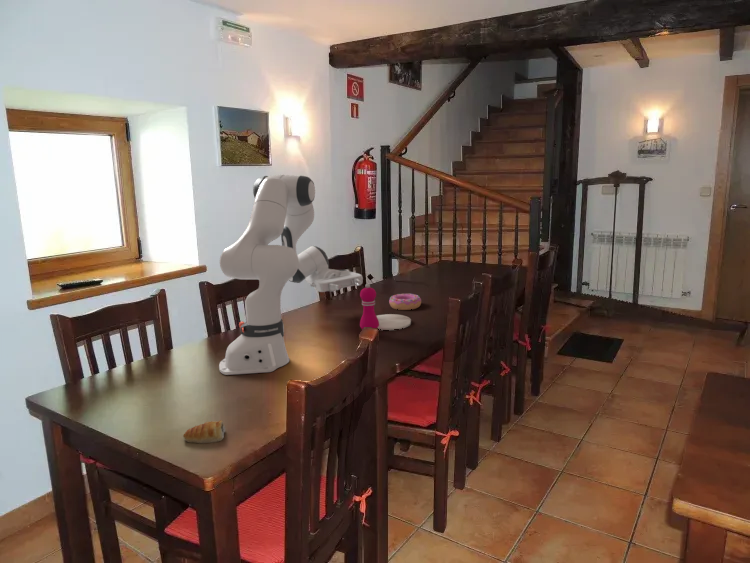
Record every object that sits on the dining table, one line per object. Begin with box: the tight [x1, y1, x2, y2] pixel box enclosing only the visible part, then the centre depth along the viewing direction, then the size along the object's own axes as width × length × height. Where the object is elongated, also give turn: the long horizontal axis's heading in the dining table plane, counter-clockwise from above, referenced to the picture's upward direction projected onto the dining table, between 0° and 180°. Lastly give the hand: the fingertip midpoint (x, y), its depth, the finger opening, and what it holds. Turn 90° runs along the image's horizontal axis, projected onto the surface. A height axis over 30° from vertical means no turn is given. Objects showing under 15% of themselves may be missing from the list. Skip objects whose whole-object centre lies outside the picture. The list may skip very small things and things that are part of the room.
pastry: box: [182, 419, 226, 444], centre depth 127 cm, size 9×7×4 cm
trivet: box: [376, 313, 412, 331], centre depth 214 cm, size 18×18×2 cm
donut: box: [388, 293, 422, 311], centre depth 240 cm, size 14×14×5 cm
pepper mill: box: [359, 283, 379, 330], centre depth 198 cm, size 7×7×20 cm
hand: (349, 285), depth 207 cm, fingers open, 8 cm apart
